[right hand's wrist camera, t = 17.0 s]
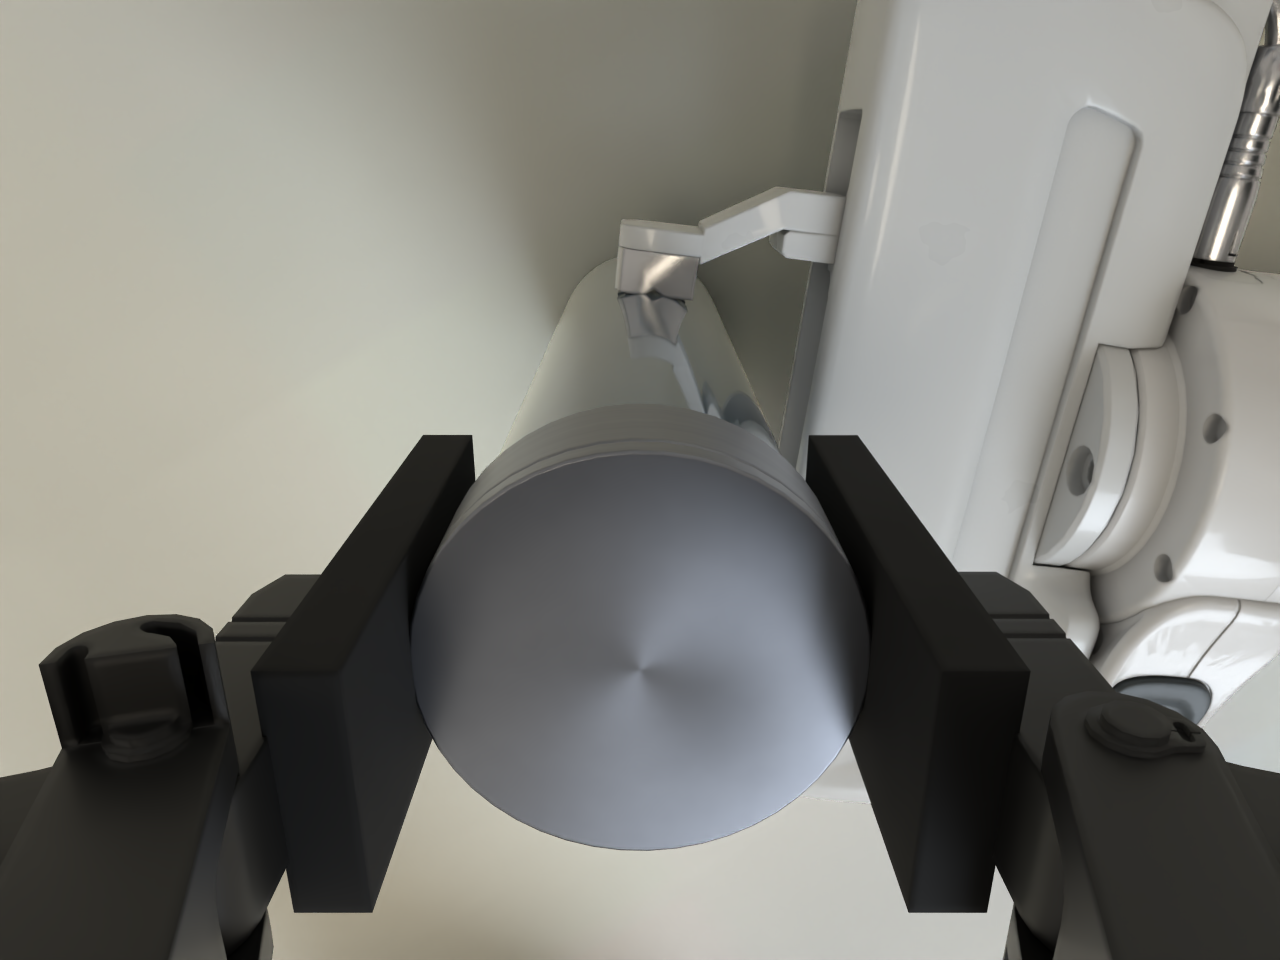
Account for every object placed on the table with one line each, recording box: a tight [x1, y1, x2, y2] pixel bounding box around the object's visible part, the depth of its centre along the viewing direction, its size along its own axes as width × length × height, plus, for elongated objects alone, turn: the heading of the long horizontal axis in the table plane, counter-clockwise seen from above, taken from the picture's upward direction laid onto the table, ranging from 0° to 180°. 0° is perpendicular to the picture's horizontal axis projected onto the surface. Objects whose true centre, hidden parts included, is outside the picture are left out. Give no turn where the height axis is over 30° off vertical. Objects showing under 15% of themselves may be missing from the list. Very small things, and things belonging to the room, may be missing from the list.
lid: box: [409, 404, 872, 851], centre depth 11 cm, size 5×5×2 cm
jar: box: [499, 257, 782, 456], centre depth 19 cm, size 5×5×18 cm
